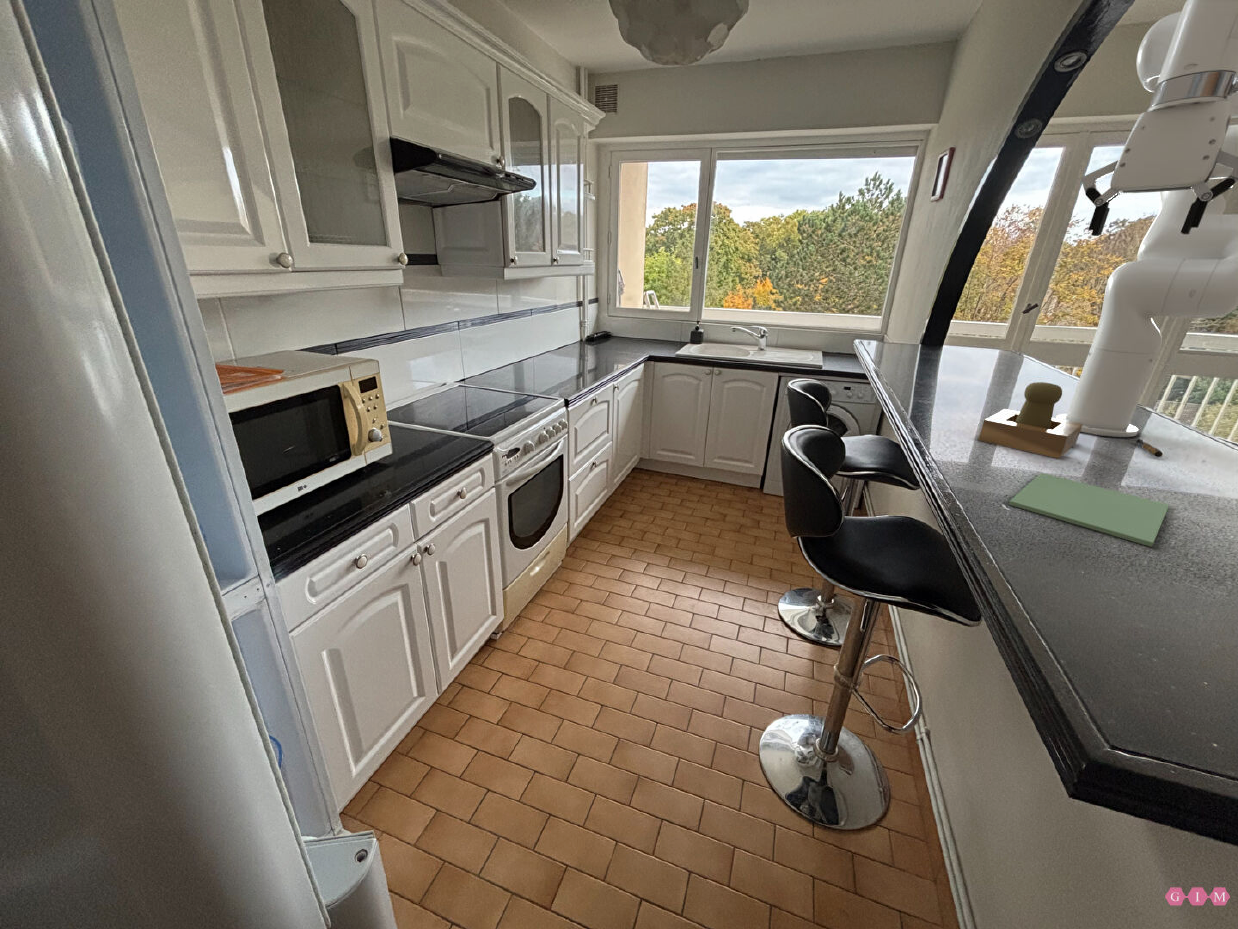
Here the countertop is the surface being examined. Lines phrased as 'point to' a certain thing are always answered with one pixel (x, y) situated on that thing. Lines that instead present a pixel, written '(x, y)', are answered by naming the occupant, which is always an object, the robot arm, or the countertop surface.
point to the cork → (1039, 404)
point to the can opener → (1150, 448)
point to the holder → (1030, 434)
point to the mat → (1093, 508)
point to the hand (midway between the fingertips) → (1138, 234)
